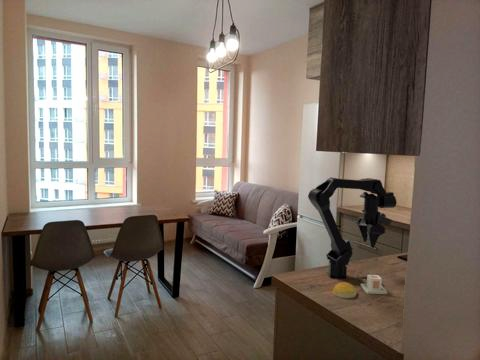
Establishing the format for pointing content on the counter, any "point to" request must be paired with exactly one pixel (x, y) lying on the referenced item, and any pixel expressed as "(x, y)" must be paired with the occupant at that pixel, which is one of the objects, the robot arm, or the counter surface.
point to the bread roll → (344, 290)
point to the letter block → (374, 283)
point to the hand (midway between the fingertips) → (368, 244)
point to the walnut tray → (364, 279)
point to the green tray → (373, 291)
